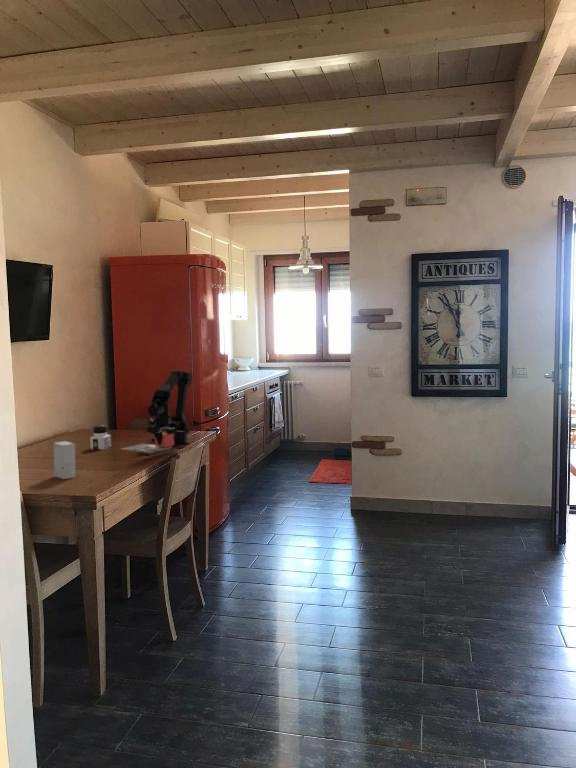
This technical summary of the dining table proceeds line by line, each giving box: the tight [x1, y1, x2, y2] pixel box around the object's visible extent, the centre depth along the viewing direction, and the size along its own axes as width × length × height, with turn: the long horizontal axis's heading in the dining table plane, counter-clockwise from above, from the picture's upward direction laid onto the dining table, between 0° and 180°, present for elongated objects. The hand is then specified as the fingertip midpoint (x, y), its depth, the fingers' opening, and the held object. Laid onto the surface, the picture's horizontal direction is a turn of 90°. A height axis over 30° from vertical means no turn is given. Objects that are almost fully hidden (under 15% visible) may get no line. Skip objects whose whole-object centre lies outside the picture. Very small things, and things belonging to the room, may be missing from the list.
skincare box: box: [53, 440, 76, 480], centre depth 266 cm, size 8×6×15 cm
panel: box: [120, 443, 174, 457], centre depth 319 cm, size 16×22×2 cm
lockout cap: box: [154, 432, 175, 447], centre depth 319 cm, size 6×7×6 cm
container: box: [89, 424, 112, 450], centre depth 322 cm, size 8×8×13 cm
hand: (164, 443), depth 319 cm, fingers closed on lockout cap, 6 cm apart
